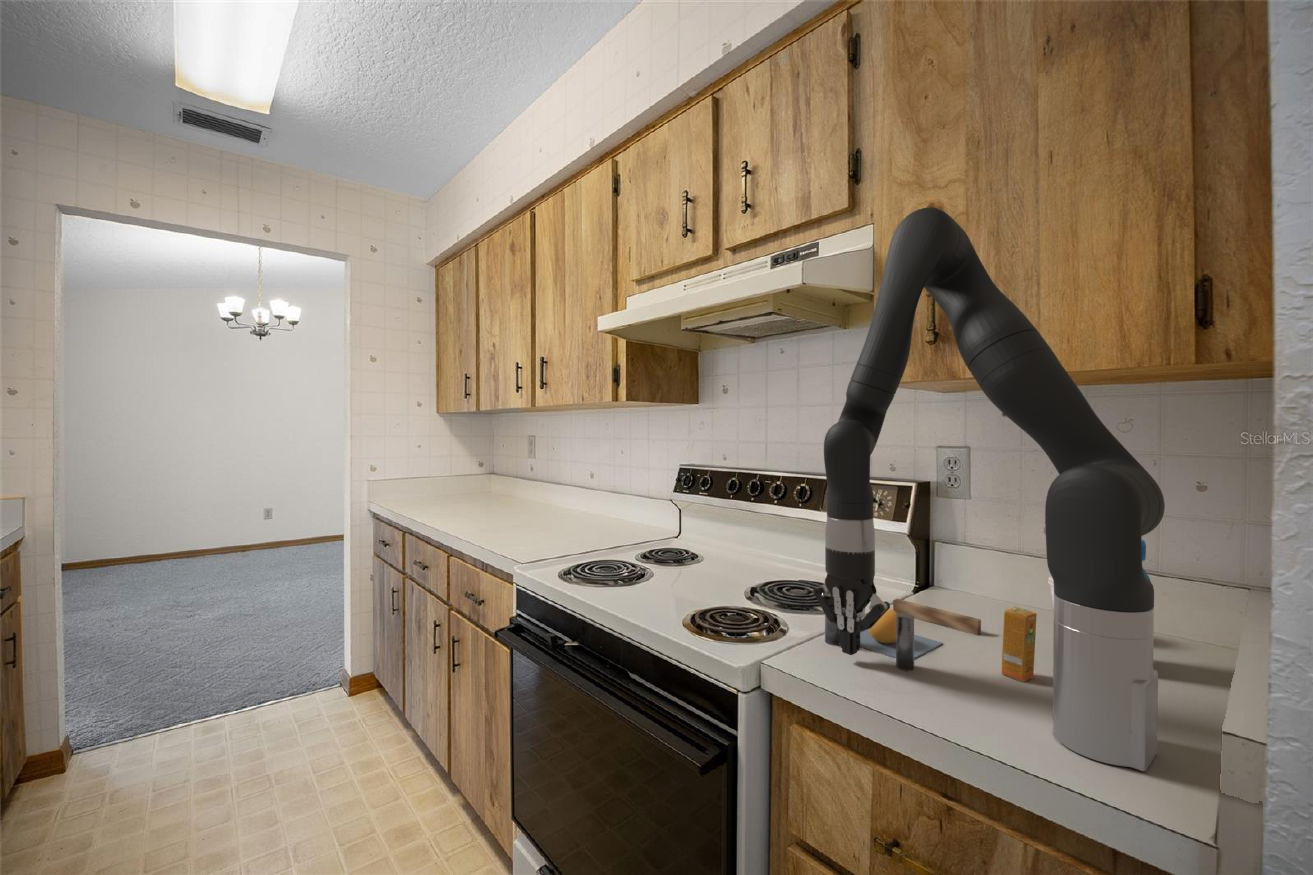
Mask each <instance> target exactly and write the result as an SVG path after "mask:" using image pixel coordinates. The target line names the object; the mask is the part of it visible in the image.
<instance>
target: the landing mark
mask: <svg viewBox="0 0 1313 875" xmlns="http://www.w3.org/2000/svg"><path fill="white" fill-rule="evenodd" d="M943 644H944V642H941V641H938V640H935V639H932V638H931V639H930V638H927V637H924V636H921V635H917V634H914V660H915V659H917V658H920V657H921V656H924V655H925V654H926V653H928V652H930V651H932V650H935V649H936V648H938V647H940V646H942V645H943ZM860 648H863V649H864V648H865V649H867V650H870V651H872V652H873V651H874V652H875V653H878V654H882V655H885V656H888V657H891V658H893V659H896V641H895V642H893V643H889V644H887V643H881V642H879V641H877V640H875V639H874V638H873V637H872V636H871V635H870V633H869V632H868V629H867V630H865V631H862V632H860Z"/></svg>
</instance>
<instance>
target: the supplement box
mask: <svg viewBox="0 0 1313 875" xmlns="http://www.w3.org/2000/svg"><path fill="white" fill-rule="evenodd" d="M1037 615H1038V614H1037V613H1036V612H1034V611H1031V610H1028V609H1026V608H1021V607H1018V606H1013V607H1011V608H1007V609H1005V610H1004V612H1003V627H1002V628H1003V630H1002V646H1001V647H1002V651H1001V653H1002V654H1001V675H1003V676H1005V677H1008V678H1011V679H1013V680H1017V681H1019V682H1023V683H1024V682H1026V681H1028V680H1031V679H1033V678H1034V671H1035V670H1034V668H1035V651H1036V631H1037Z"/></svg>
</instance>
